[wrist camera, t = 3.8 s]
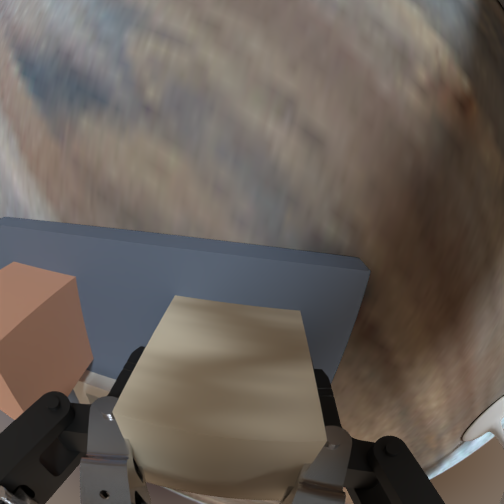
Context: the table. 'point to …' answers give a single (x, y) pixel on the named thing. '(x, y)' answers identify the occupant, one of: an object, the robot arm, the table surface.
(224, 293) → the grey board
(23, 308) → the terracotta block
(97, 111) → the table surface
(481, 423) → the wineglass
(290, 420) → the birch block
